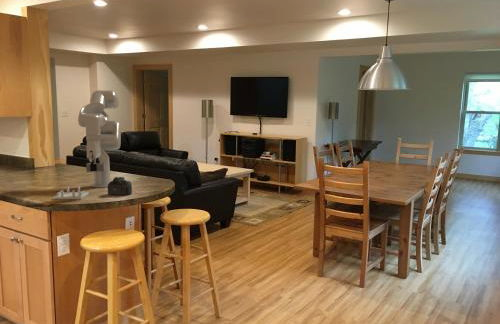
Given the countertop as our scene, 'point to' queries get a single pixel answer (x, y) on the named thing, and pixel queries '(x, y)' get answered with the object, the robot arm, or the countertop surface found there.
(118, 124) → the robot arm
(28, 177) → the countertop surface
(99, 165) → the drive
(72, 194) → the grey pegged board
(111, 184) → the camera
